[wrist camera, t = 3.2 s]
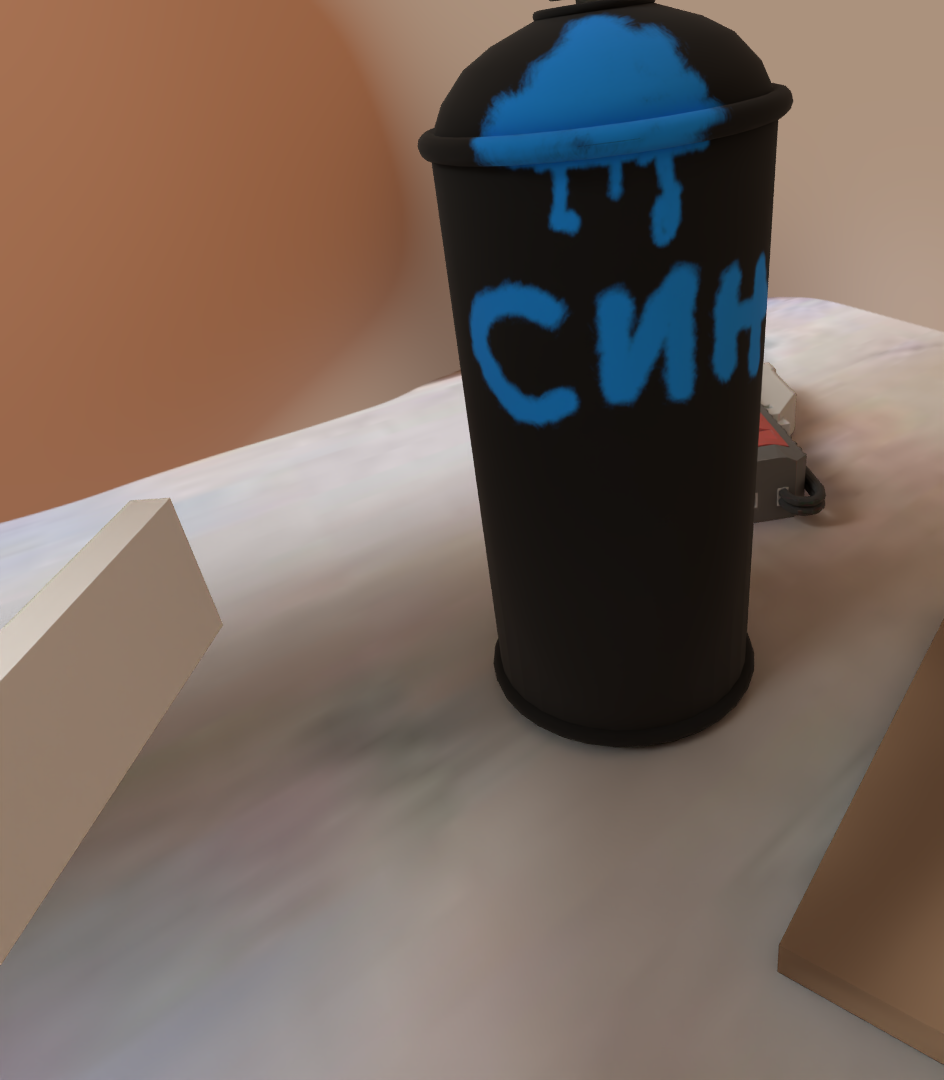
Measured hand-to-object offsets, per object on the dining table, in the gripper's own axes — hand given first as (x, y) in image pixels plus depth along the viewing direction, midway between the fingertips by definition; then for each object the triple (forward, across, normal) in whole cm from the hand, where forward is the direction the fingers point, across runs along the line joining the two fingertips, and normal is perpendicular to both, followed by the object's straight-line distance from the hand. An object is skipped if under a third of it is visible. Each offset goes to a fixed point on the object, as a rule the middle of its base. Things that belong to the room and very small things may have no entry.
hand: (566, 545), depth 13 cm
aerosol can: (+10, 0, -11) cm, 15 cm away
